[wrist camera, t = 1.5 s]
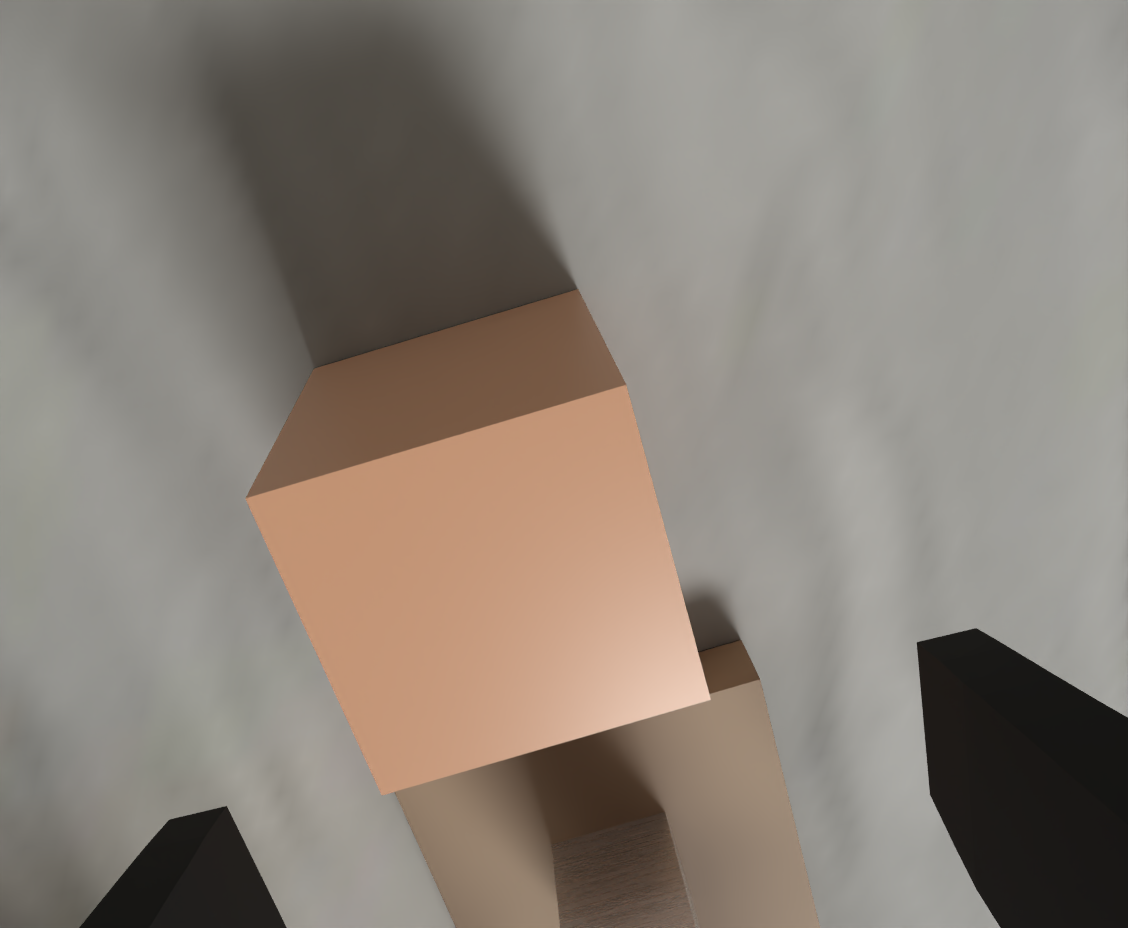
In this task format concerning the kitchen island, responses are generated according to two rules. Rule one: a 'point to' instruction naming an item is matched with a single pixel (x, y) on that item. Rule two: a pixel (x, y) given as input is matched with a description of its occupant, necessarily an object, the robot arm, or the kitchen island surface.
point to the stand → (628, 812)
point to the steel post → (623, 878)
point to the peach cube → (478, 544)
